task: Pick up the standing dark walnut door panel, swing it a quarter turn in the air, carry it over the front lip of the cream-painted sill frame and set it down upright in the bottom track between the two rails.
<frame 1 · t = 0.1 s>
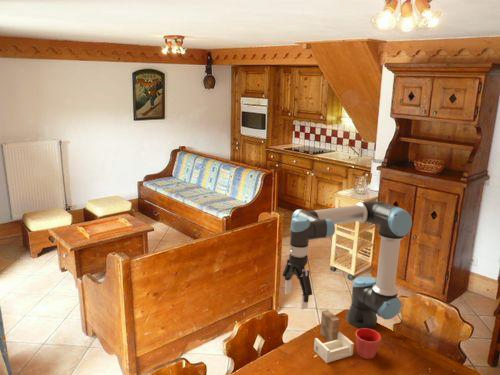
hand: (295, 300, 185), 28 cm above the table, fingers open, 13 cm apart
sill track: (333, 352, 196), on the table
walnut panel: (328, 337, 207), on the table
flower pot: (366, 354, 196), on the table
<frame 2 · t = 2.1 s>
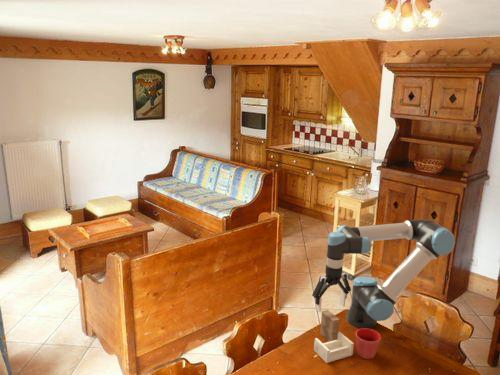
hand: (330, 307, 203), 16 cm above the table, fingers open, 13 cm apart
nothing on the table moved.
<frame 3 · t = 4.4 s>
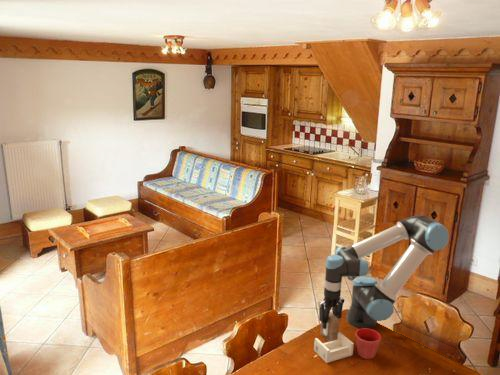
hand: (329, 333, 207), 3 cm above the table, fingers closed on walnut panel, 3 cm apart
walnut panel: (328, 337, 207), on the table, touching gripper
everything else where it was.
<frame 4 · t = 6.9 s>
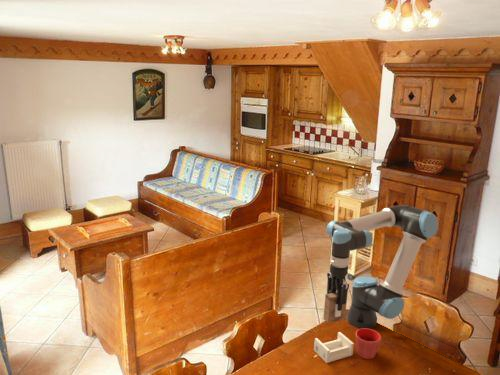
hand: (334, 313, 192), 19 cm above the table, fingers closed on walnut panel, 3 cm apart
walnut panel: (334, 319, 193), point 16 cm above the table, touching gripper
everything else where it was.
when the fingers open (5 cm above the table, at t = 9.4 s): walnut panel drops 1 cm, resting on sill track.
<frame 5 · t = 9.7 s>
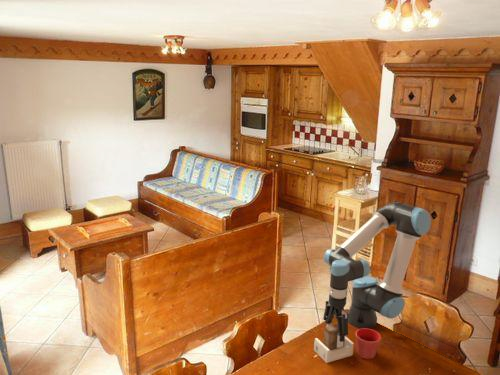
hand: (334, 341, 195), 6 cm above the table, fingers open, 8 cm apart
walnut panel: (333, 350, 196), point 1 cm above the table, touching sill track
everything else where it was.
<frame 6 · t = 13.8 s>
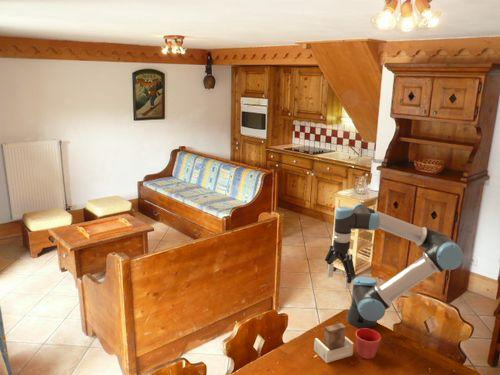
hand: (338, 282, 205), 27 cm above the table, fingers open, 13 cm apart
nothing on the table moved.
at the end: walnut panel 0.0 cm off-centre on the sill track, point 1.0 cm above the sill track's base; walnut panel tilted 0°; the gripper is holding nothing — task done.
